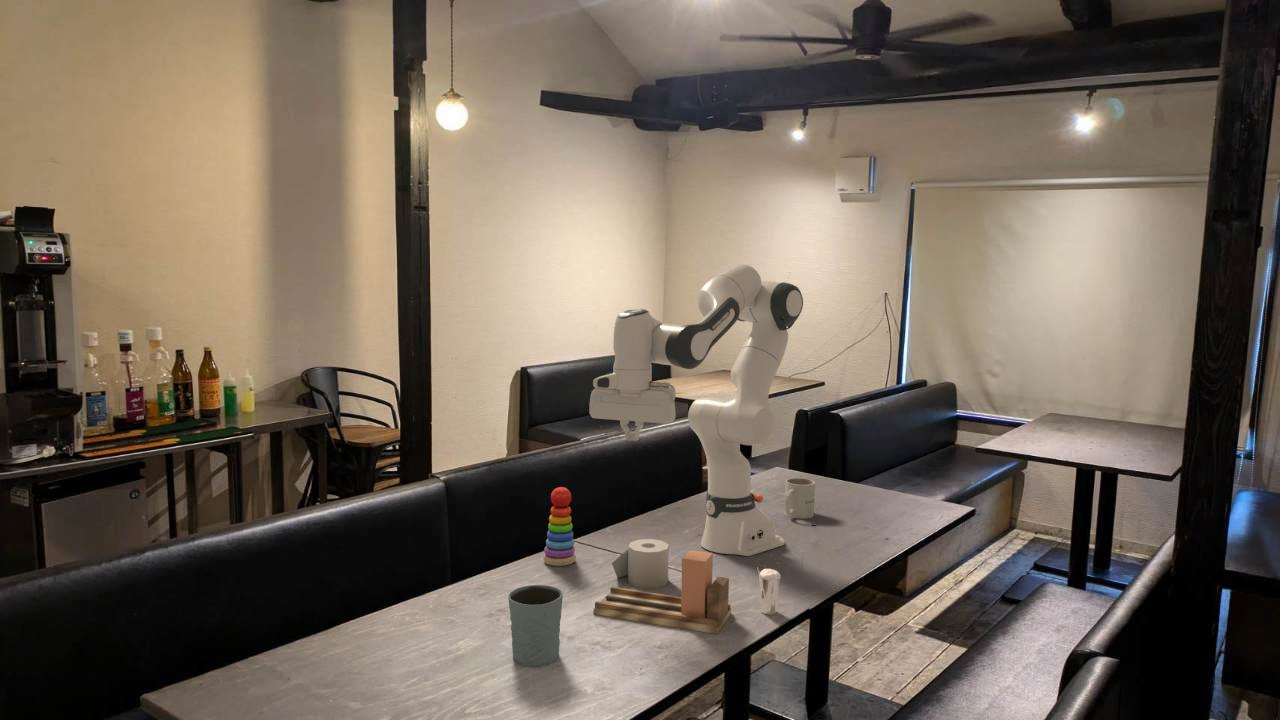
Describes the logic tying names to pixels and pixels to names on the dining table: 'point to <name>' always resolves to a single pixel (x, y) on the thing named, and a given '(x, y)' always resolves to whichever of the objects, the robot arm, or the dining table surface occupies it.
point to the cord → (644, 603)
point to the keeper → (696, 583)
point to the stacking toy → (560, 530)
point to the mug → (799, 498)
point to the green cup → (535, 624)
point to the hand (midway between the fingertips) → (631, 439)
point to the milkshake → (769, 590)
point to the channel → (711, 623)
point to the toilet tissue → (644, 563)
